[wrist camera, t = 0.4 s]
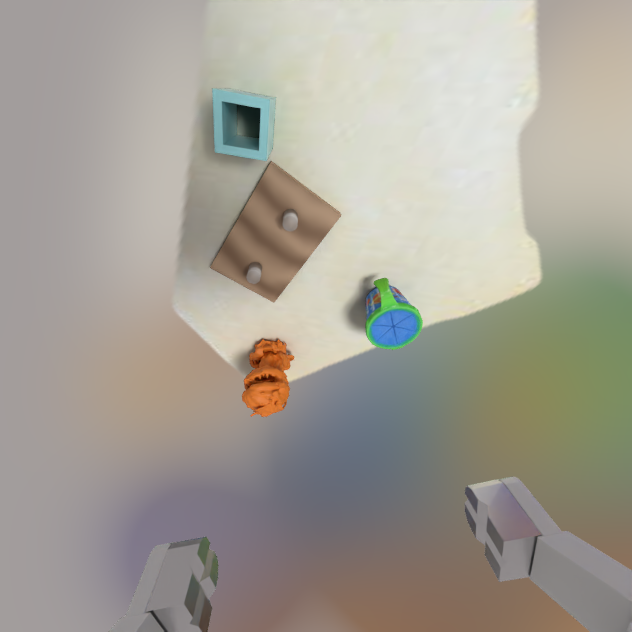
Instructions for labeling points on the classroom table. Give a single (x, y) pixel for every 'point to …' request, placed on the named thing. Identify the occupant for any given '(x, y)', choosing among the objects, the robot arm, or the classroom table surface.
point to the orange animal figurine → (267, 378)
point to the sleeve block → (227, 124)
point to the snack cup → (390, 317)
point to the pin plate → (274, 234)
